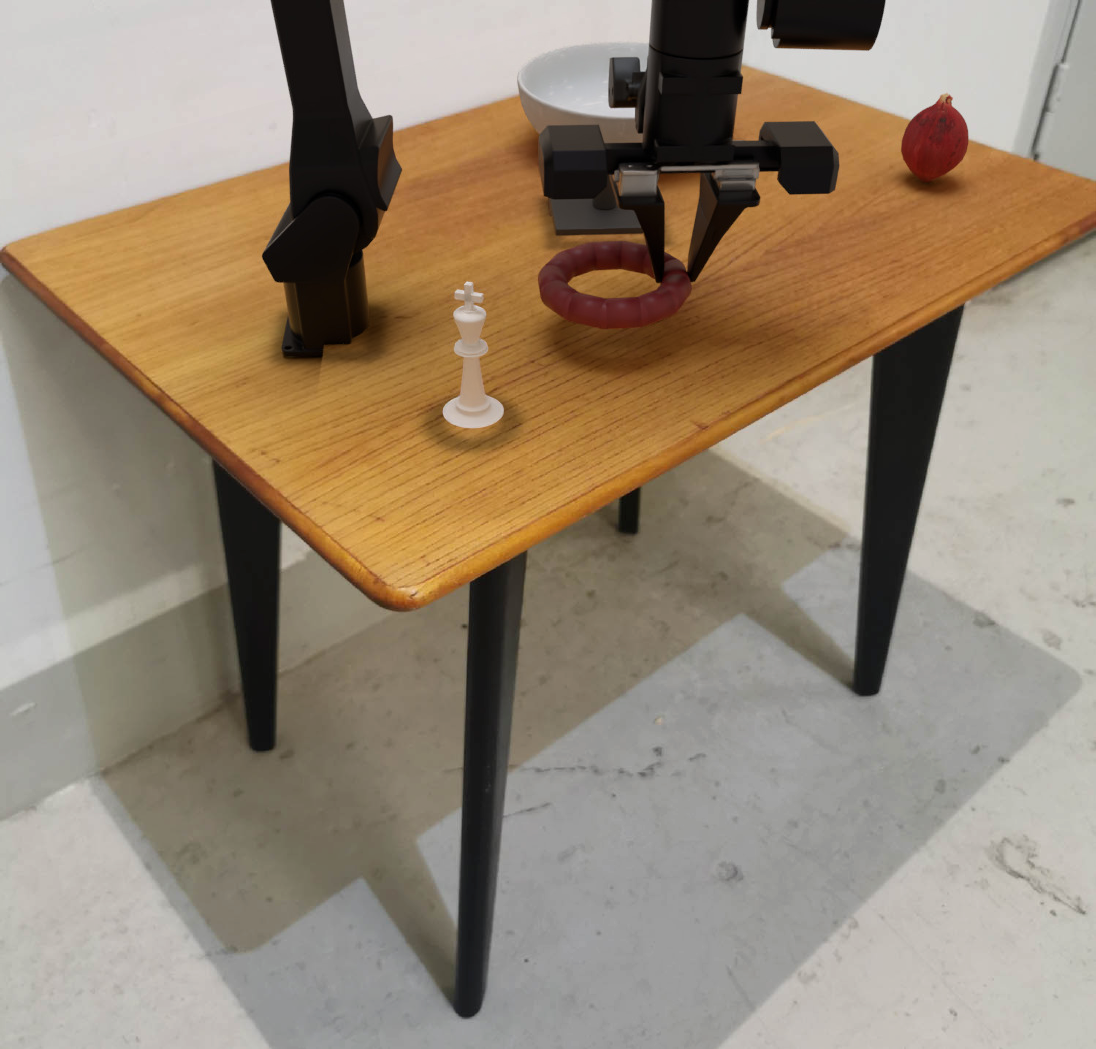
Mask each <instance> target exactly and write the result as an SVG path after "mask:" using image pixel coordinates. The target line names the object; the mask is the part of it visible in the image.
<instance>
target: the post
mask: <svg viewBox="0 0 1096 1049" xmlns="http://www.w3.org/2000/svg"><path fill="white" fill-rule="evenodd" d="M546 199H547V206H548V211H549V216H550V217H551V218H552V223H553V228H554V233H555V236H591V235H593V236H594V235H595V236H596V235H634V234H635V235H637V234H643V231H642V228H641V226H640V223H639V221H638V219H637V216H636V214H635V212H634V211H633V210H623V209H620V208H619V207H618V206H617V202H616V199H615V196H614V192H613V189H612V186H611V182H610V177H609V175H607V187H606V188H605V189H604V190H603V191H602V192H601V193H600V194H598V195H597V196H596V197H595V198H594V199H556V200H553V199H551V198H548V197H547V198H546Z"/></svg>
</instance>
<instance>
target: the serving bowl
mask: <svg viewBox="0 0 1096 1049" xmlns="http://www.w3.org/2000/svg"><path fill="white" fill-rule="evenodd" d="M648 49H649V42H639V41H597V42H586V43H585V42H584V43H579V44H571V45H567V46H562V47H558V48H554V49H550V50H548V51H545V52H542V53H540V54H538V55H536V56H534V57H532V58H531V59H529V60H528V61H526V62H525V63H524V64H523V65H522V66H521V67H520V69H519V71H518V73H517V77H516V81H517V82H516V84H517V89H518V95H519V100H520V104H521V107H522V110H523V112H524V115H525V116H526V118H527V120H528V122H529V123H530V124H531V126H532V128H533V129H534V130H535V131H536V132H537V133H538V135H540V134H541V133H542V131H543V130H544V129H545V128H546V127H547V125H599V127H600V130H601V134H602V137H603V140H604V143H640V142H642V140H643V134H638V133H637V130H636V128H635V124H636V122H635V108H610V107H609V103H608V79H609V63H610V58H612V57H638V58H639V59H640V71H646V68H647V57H648Z"/></svg>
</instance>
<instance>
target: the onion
mask: <svg viewBox="0 0 1096 1049" xmlns="http://www.w3.org/2000/svg"><path fill="white" fill-rule="evenodd" d="M953 99H954V97H953V96H952V95H951V94H949V93H948V92H946V93H943V94H940V96H939V97H938V99H937V101H936V102H935V103H933V104H932V105H930V106H928V107H925V108H924V109H922V110H921V111H919V112H918V113H916V114H915V115H914V116H913V117H912V119H910V121H909V122H908V124H907V125H906V128H905V129H904V133H903V135H902V139H901V145H900V152H901V156H902V160H903V161H904V163H905V164H906V166H907V168H908V170H909V171H910V172H911V173H912V174H913V175H914V176H915V177H917V178H918V180H919V181H921V182H923V183H932V182H934V180H936V179H938V178H940V177H943V176H945V175H946V174H948V173H949V172H951V171H952V170H954V169H955V168H957V167H958V165H959V164H960V163H961V162H963V160H964V158H965V156H966V154H967V151H968V148H969V139H970V138H969V128H968V124H967V122H966V120H965V118H964V116H963V115H962V114H961V112H960V111H959V110H958V109H956V108H955V107H954V106H953V103H952V101H953Z"/></svg>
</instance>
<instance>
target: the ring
mask: <svg viewBox="0 0 1096 1049" xmlns="http://www.w3.org/2000/svg"><path fill="white" fill-rule="evenodd" d="M613 270H614V271H615V270H623V271H628V272H631V273H632V272H633V273H637V274H641V275H642V274H643V275H647V276H648V277H649V278H651V279H654V280H655V278H654V274H653V270H652V266H651V262H650V258H649V254H648V250H647V246H646V244H643V243H638V242H634V241H633V242H632V241H628V240H610V241H590V242H585V243H583V244H579V245H577V246H573V247H569V248H567V249H564V250H560V251H559V252H557V253H556V254H555V255H554V256H553V257H552V258H550V260H549V261H547V263H546V264H545V265H544V266H542V268H540V270H539V272H538V274H537V284H538V289H539V297H540V300H541V302H542V304H543V305H544V306H545V307H547V308H548V309H550V311H552V312H554V313H555V314H556V315H558V316H559V317H561V318H562V319H564V320H565V321H567V322H569V323H573V324H578V325H582V326H587V327H590V328H596V329H602V330H617V329H636V328H637V329H638V328H644V327H647V326H650V325H652V324H654V323H657V322H660V321H663V320H665V319H668V318H671V317H673V316H674V315H675V314H677V312H678V311H679V310H680V309H681V307H682V306H683V305H684V304H685V302H686V301H687V300H688V298H689V297H690V295H691V294H692V290H693V286H692V282H691V281H690V279H689V276H688V273H687V268H686V265H685V264H684V263H683V261H681V260H680V259H679V258H677V257H675V256H673V255H671V254H669V252H666V251H665V268H664V274H663V279H662V283H659V284H660V285H659V286H658V287H657V288H656V289H654V290H652V291H649V292H646V293H644V294H641V295H638V296H627V297H607V298H606V297H601V296H597V295H593V294H588V293H582V292H580V291H578V290H577V289H576V288H574V287H572V286H571V285H569V283H570V282H571V281H572V280H573V279H574V278H577V277H579V276H582V275H585V274H588V273H592V272H595V271H613Z"/></svg>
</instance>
